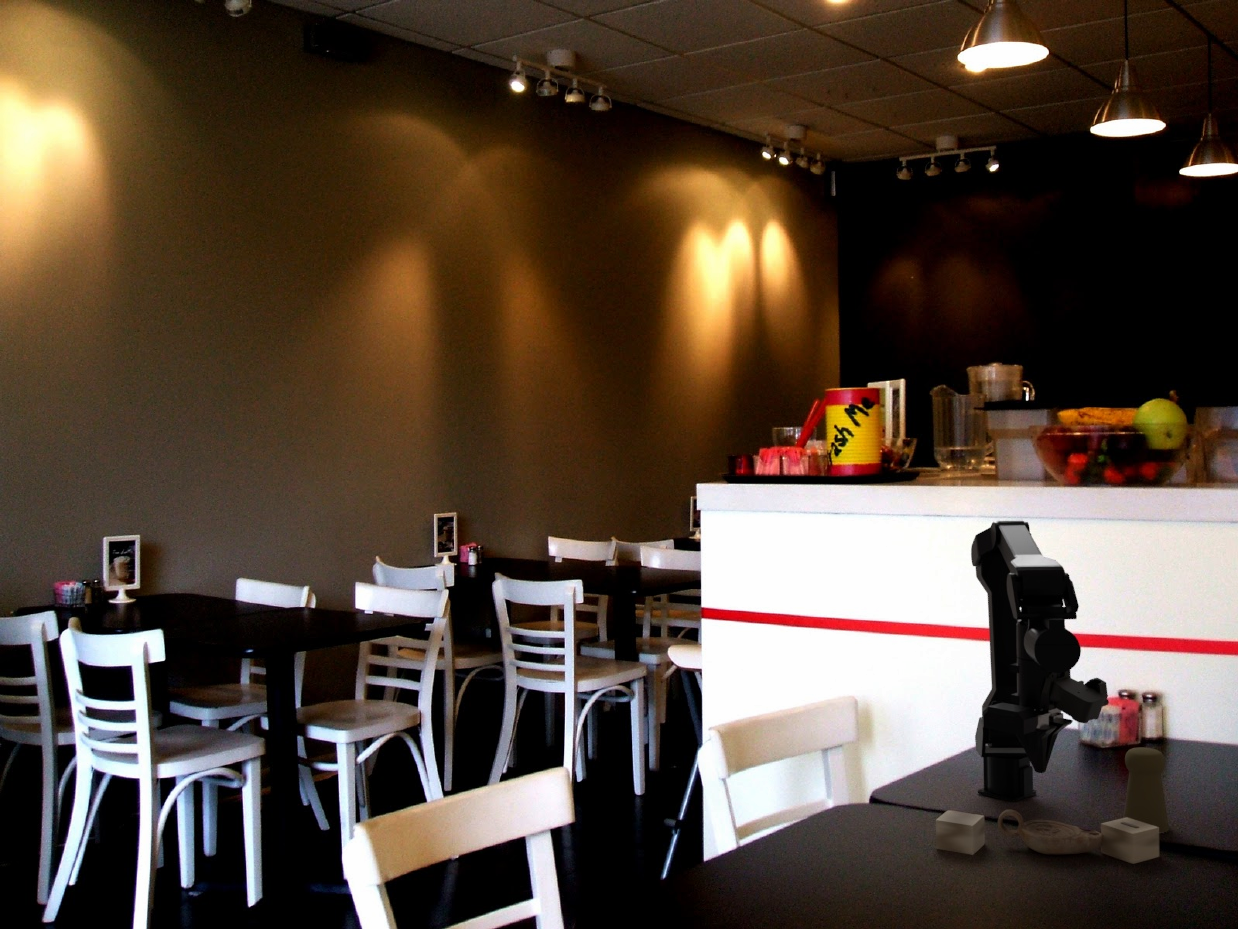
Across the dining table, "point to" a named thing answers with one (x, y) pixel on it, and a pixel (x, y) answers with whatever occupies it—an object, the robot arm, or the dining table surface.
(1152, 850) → the beech block right
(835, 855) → the dining table surface
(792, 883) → the dining table surface
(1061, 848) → the oil lamp
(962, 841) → the beech block left
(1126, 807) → the pepper shaker
